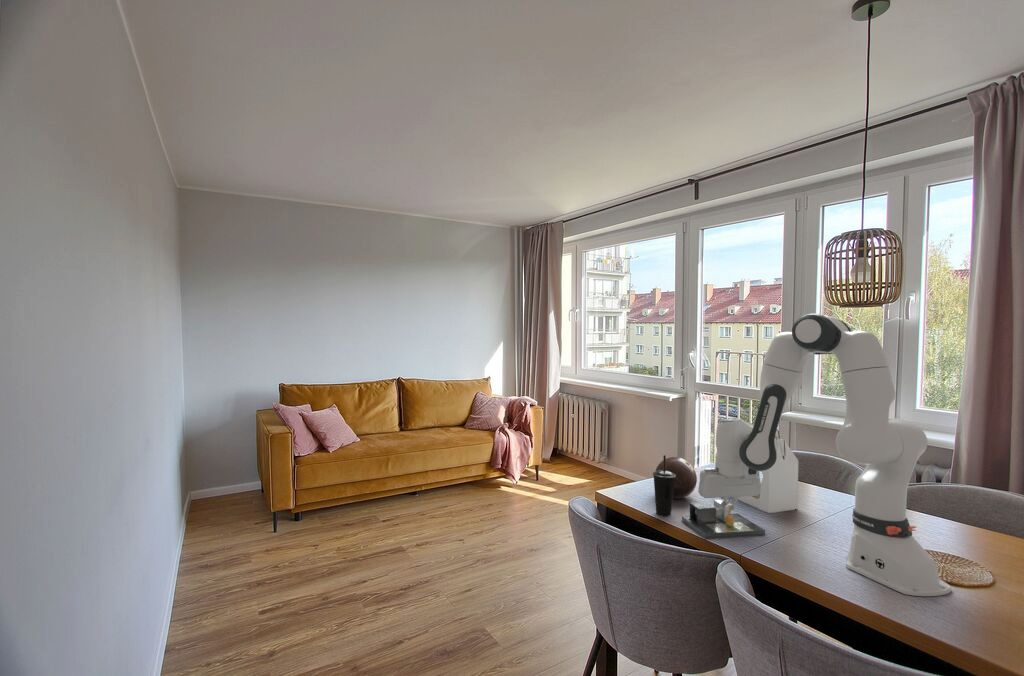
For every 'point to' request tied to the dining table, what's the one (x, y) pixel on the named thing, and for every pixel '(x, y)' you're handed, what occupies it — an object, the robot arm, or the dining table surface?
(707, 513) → the gauge frame
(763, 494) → the gable box
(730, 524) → the peak needle
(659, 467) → the wooden sphere
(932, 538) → the dining table surface
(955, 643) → the dining table surface
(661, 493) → the drinking cup
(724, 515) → the white block
